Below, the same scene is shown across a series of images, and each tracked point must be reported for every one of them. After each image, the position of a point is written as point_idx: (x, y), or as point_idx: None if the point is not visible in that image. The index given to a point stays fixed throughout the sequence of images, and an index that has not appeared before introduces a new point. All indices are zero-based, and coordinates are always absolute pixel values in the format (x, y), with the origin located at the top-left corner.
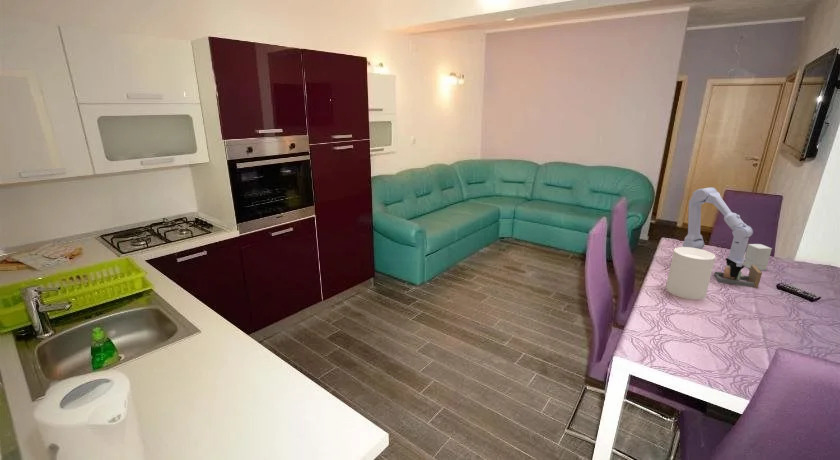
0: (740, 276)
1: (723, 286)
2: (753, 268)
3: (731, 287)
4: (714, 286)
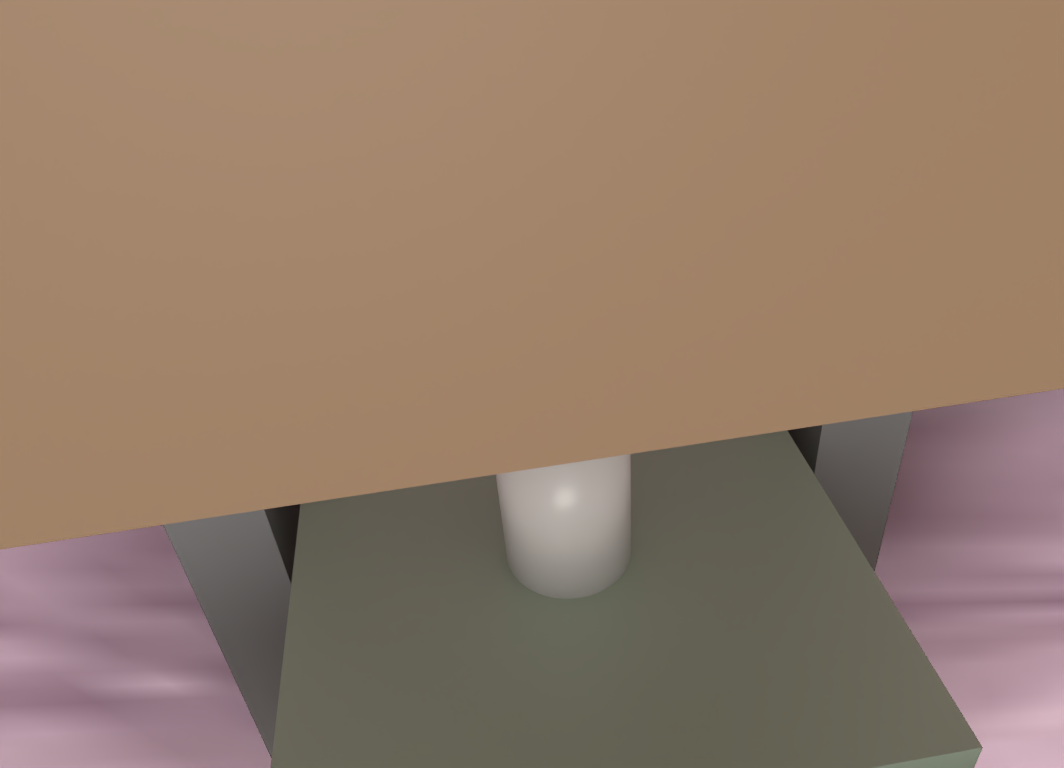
0: (856, 551)
1: (1025, 609)
2: (367, 410)
3: (1059, 495)
4: (1052, 709)
